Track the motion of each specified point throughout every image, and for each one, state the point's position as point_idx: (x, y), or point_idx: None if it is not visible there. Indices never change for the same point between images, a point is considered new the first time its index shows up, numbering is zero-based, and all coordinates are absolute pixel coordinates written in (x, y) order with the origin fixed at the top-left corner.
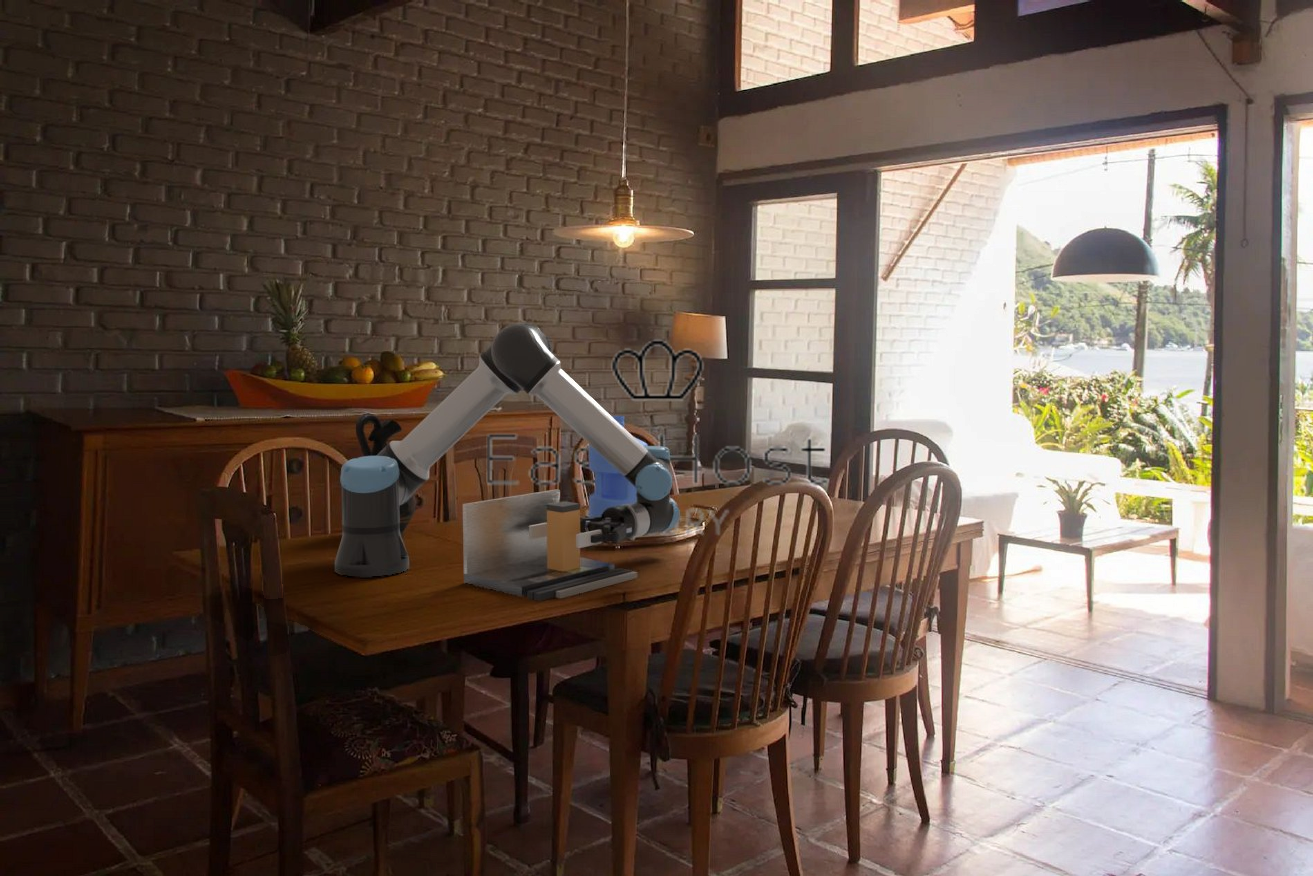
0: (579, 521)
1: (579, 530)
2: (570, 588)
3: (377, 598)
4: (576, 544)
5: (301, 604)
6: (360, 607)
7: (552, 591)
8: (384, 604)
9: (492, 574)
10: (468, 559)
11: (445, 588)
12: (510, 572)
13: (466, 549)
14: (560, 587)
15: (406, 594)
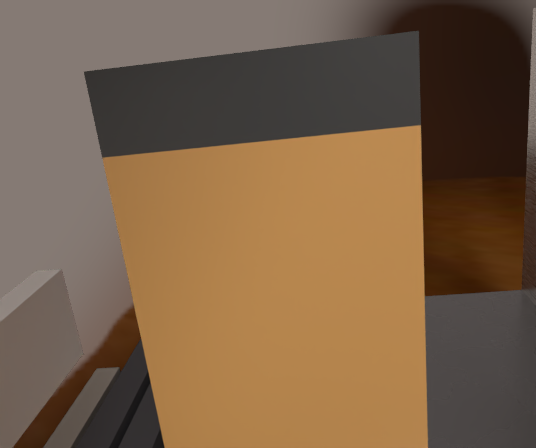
0: (138, 302)
1: (159, 398)
2: (81, 411)
3: (486, 217)
4: (75, 333)
5: (517, 178)
6: (434, 201)
7: (130, 361)
8: (427, 215)
9: (458, 323)
10: (527, 242)
11: (498, 284)
12: (448, 367)
13: (526, 200)
14: (121, 388)
15: (488, 239)
